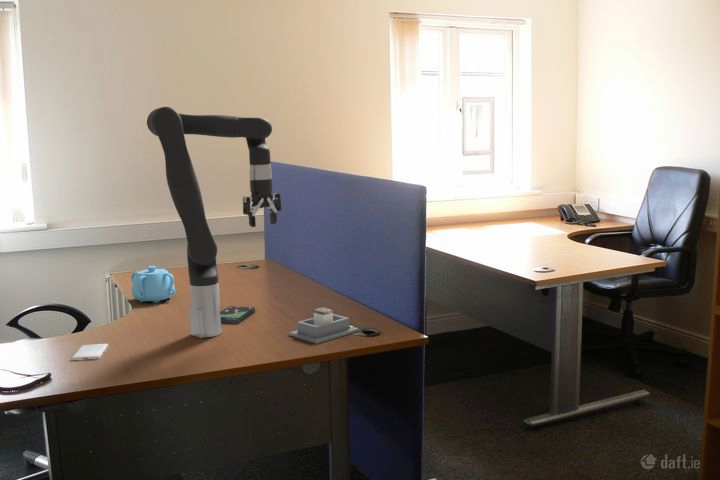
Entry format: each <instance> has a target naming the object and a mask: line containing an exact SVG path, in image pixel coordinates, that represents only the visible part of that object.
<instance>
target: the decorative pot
mask: <svg viewBox="0 0 720 480" xmlns="http://www.w3.org/2000/svg"><path fill="white" fill-rule="evenodd" d="M131 282H132V286H131V295H132V297H133V298H134V299H135V300H137V301H138V302H139V303H145V302H152V303H153V304H159V303H161V301H164V300H168V299H170V298H171V297H173V295H175V294H176V292H177V291H176V288H175V277H174V275H173V274H172V273H170V272H169V271H168V270H167V269H165V268H157V266H155V265H150V266H149V265H148V266H147V269H143V270H141V271H138V270H137V271H134V272H132V274H131Z"/></svg>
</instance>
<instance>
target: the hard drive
mask: <svg viewBox="0 0 720 480" xmlns="http://www.w3.org/2000/svg"><path fill="white" fill-rule="evenodd" d="M108 345H109V344H108V343H96V344H93V343H92V344H83V345H81V346H80V347H79V348H78V350H77V351H76V353H75V354H73V356H72V357H71V361H72V360H77V361H81V360H80V359H94V358H100V357H101V355H102V354H103V352H104V351H105V350H106V348H107V347H108ZM108 348H109V347H108ZM108 348H107V349H108ZM106 351H107V350H106ZM106 351H105V352H106ZM103 355H104V354H103ZM103 355H102V356H103ZM101 358H102V357H101ZM101 358H100V359H101ZM94 360H95V359H94Z"/></svg>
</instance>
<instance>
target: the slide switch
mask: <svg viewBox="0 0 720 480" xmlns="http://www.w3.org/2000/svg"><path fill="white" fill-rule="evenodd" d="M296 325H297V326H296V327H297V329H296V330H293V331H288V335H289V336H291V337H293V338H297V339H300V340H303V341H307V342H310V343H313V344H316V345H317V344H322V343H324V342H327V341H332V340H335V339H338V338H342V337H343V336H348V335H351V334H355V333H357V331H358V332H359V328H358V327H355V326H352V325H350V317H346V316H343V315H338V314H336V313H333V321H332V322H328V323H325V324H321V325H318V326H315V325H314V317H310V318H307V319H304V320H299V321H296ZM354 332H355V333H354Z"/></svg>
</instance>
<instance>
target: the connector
mask: <svg viewBox="0 0 720 480" xmlns="http://www.w3.org/2000/svg"><path fill="white" fill-rule="evenodd" d="M312 311H313V318H314V325H315V326H318V325H321V324H325V323H328V322H332V321H333V314H334V311H333V309H331V308H327V307H325V306H324V307H323V306H322V307H317V308H314V309H313V310H312Z"/></svg>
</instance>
